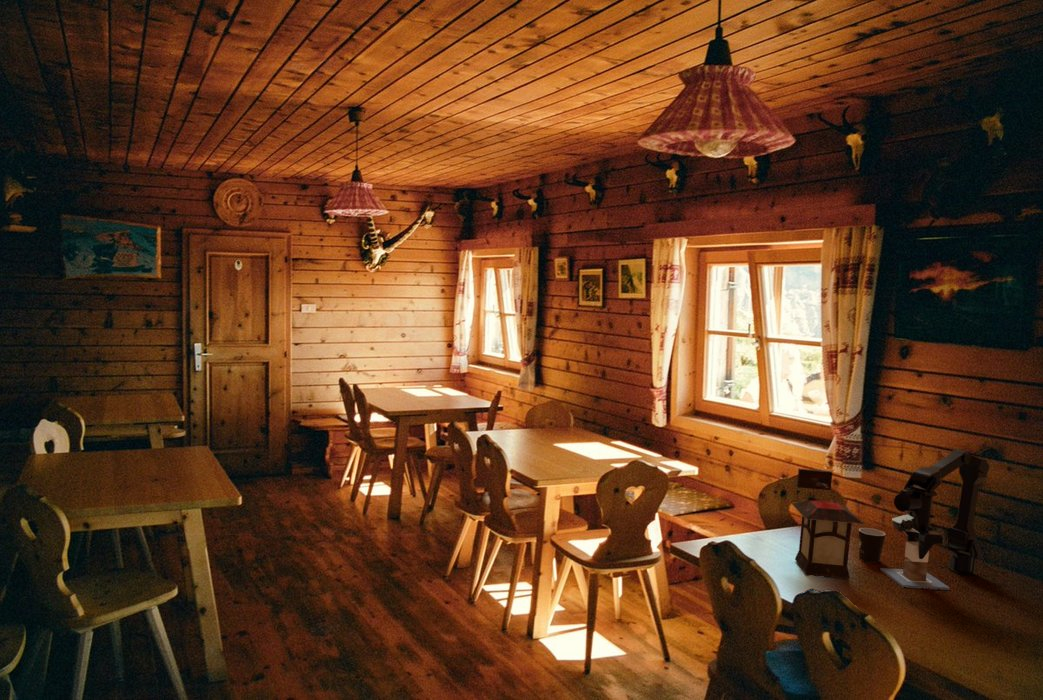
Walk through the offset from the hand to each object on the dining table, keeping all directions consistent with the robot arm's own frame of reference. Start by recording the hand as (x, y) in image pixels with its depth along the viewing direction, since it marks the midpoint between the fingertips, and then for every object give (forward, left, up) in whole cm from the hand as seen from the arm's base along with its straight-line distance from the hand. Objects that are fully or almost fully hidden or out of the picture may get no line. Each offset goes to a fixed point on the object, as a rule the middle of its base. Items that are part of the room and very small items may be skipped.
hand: (916, 556), depth 255 cm
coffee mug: (+6, -19, -8) cm, 21 cm away
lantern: (+29, -8, -8) cm, 31 cm away
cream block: (0, 0, -1) cm, 1 cm away
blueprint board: (0, 0, -8) cm, 8 cm away
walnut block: (0, 0, -7) cm, 7 cm away
